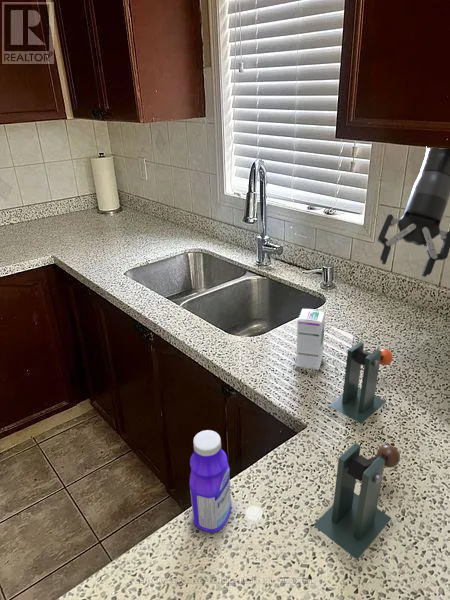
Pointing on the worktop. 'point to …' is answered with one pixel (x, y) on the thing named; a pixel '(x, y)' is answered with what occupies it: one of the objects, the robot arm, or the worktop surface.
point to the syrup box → (310, 338)
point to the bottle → (209, 482)
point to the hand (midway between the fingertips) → (403, 270)
